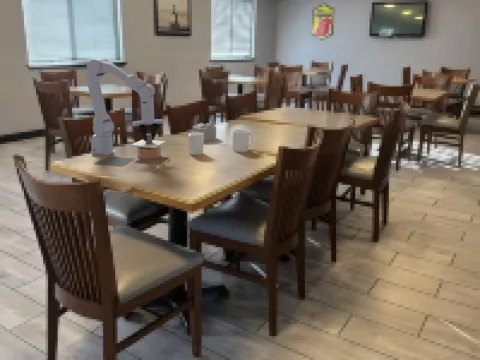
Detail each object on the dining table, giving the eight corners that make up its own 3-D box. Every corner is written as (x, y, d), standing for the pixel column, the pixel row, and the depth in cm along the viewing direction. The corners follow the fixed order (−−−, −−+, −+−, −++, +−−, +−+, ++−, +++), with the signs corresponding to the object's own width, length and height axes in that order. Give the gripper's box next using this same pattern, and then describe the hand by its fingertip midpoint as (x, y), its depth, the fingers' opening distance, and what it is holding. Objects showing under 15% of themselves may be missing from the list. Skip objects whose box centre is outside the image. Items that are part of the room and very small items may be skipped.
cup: (229, 149, 232) (229, 130, 229) (248, 147, 238) (248, 128, 235) (238, 153, 225) (238, 133, 222) (257, 150, 232) (258, 130, 229)
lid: (131, 146, 208) (131, 136, 206) (142, 141, 219) (141, 131, 218) (156, 148, 205) (155, 138, 204) (165, 142, 217) (165, 132, 215)
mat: (93, 165, 199) (92, 164, 199) (108, 157, 212) (108, 156, 212) (122, 167, 196) (122, 166, 196) (136, 159, 209) (136, 158, 209)
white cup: (201, 156, 218) (201, 135, 215) (185, 154, 220) (185, 134, 217) (205, 152, 226) (205, 132, 223) (190, 151, 227) (190, 131, 224)
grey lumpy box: (190, 138, 255) (190, 123, 252) (209, 136, 262) (209, 121, 260) (200, 142, 247) (200, 126, 244) (220, 139, 254) (220, 124, 252)
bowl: (135, 158, 210) (134, 148, 209) (143, 153, 220) (143, 143, 218) (155, 160, 209) (154, 150, 207) (163, 155, 218) (162, 145, 216)
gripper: (135, 113, 201) (137, 143, 205) (165, 111, 208) (166, 140, 212) (130, 111, 206) (131, 140, 210) (159, 109, 214) (160, 137, 218)
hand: (148, 140), depth 212 cm, fingers closed on lid, 3 cm apart
